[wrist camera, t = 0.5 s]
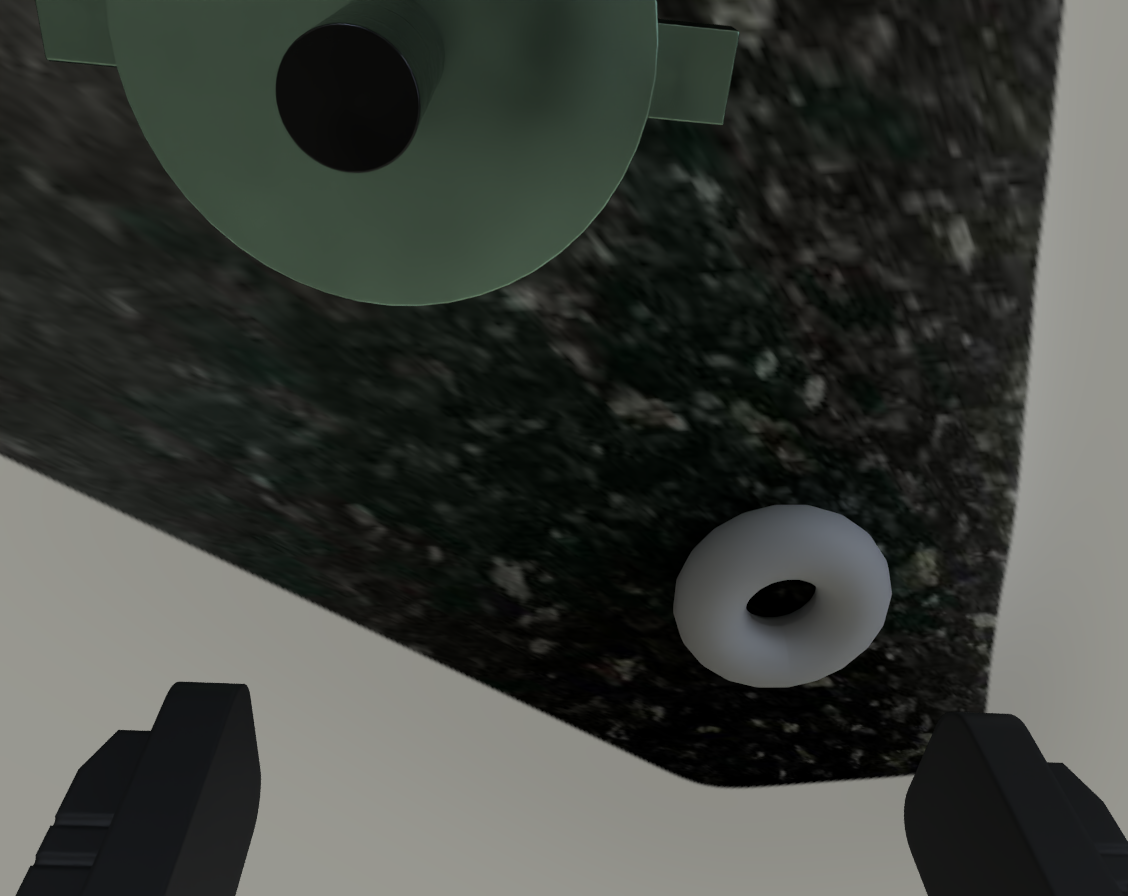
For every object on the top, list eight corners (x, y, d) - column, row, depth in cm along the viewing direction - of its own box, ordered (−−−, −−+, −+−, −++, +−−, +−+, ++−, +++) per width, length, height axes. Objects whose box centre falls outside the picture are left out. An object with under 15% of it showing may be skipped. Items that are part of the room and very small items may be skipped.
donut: (842, 455, 41) (635, 539, 42) (868, 499, 38) (644, 588, 40) (899, 608, 46) (711, 679, 47) (926, 658, 43) (724, 731, 44)
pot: (114, -259, 27) (-39, -312, 19) (722, -184, 28) (790, -208, 21) (168, 176, 33) (68, 257, 26) (660, 219, 35) (695, 307, 27)
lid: (76, -323, 20) (-120, -414, 14) (694, -244, 21) (762, -297, 15) (158, 273, 27) (51, 385, 21) (618, 309, 28) (643, 426, 22)
